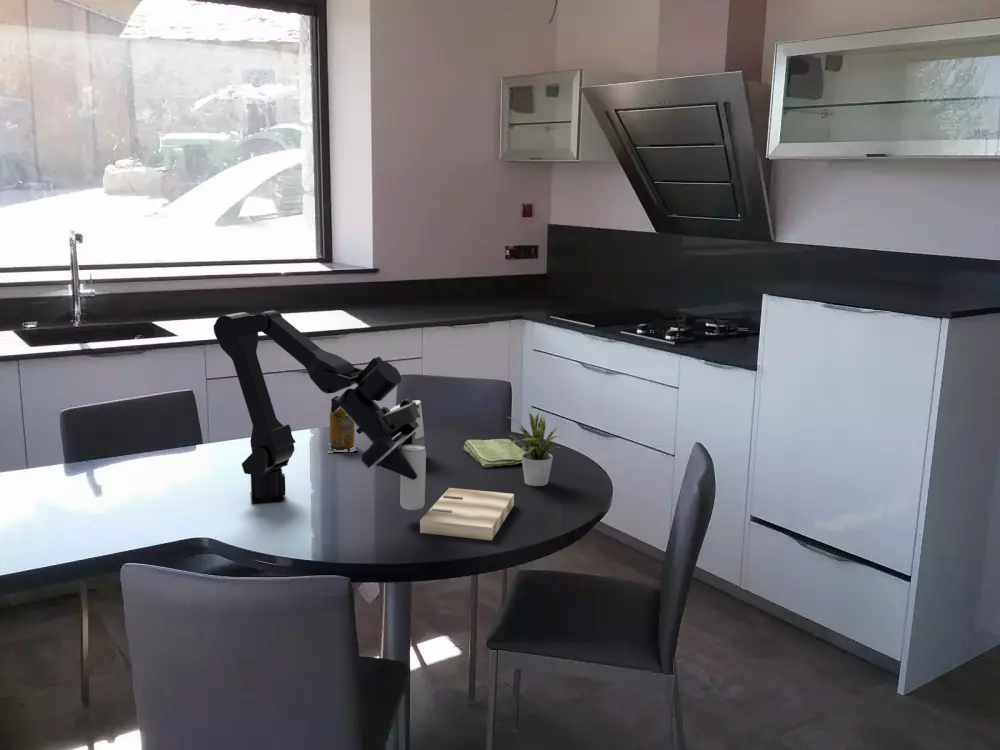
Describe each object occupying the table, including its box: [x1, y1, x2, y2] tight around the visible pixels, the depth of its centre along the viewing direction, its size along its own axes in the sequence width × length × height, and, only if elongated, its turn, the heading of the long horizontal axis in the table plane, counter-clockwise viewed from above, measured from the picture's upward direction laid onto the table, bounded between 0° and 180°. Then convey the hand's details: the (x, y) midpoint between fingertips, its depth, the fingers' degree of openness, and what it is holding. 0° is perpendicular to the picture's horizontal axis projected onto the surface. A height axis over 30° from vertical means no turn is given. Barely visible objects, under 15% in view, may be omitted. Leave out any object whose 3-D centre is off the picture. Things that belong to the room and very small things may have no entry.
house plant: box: [507, 410, 563, 487], centre depth 201 cm, size 14×14×16 cm
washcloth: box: [463, 438, 527, 469], centre depth 221 cm, size 13×18×3 cm
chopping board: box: [419, 487, 515, 541], centre depth 178 cm, size 20×14×3 cm
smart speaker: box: [389, 399, 425, 447], centre depth 217 cm, size 10×9×14 cm
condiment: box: [327, 402, 356, 454], centre depth 224 cm, size 7×8×12 cm
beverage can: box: [399, 445, 427, 511], centre depth 175 cm, size 5×5×12 cm
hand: (419, 474), depth 174 cm, fingers closed on beverage can, 5 cm apart
